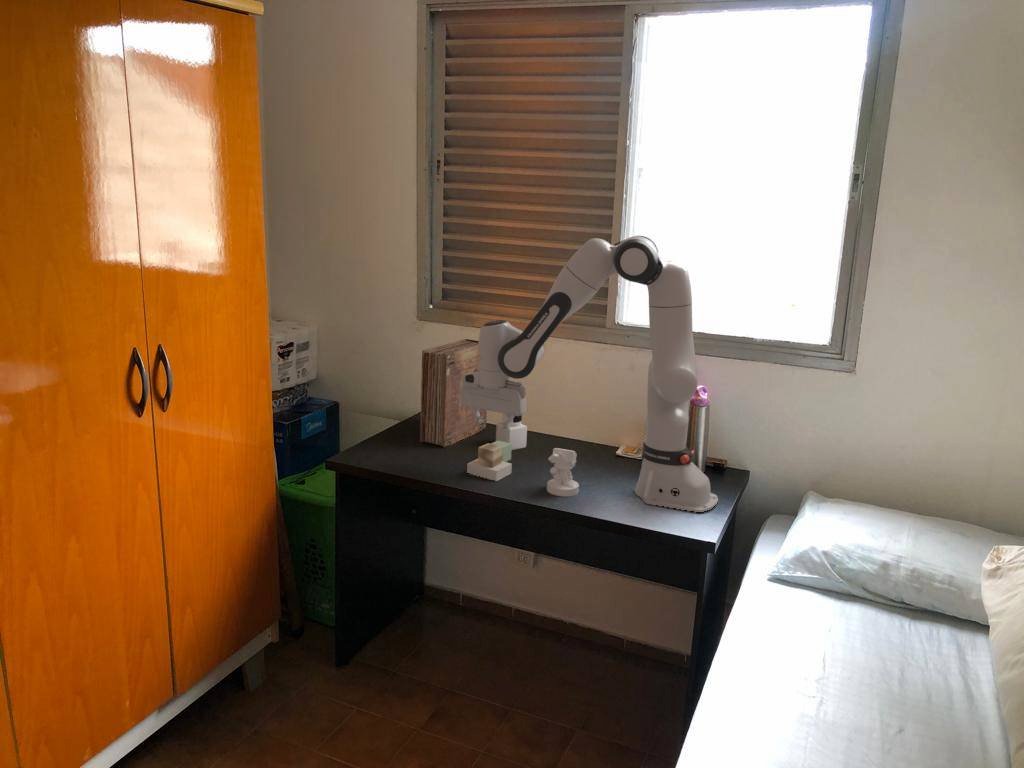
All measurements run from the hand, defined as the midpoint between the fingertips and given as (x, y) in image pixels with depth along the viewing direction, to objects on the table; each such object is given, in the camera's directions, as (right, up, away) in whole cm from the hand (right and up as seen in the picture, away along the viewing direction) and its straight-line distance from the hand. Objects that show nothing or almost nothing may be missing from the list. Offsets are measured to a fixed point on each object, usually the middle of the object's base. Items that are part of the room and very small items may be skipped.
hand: (492, 425), depth 231 cm
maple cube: (-1, -11, +3) cm, 11 cm away
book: (-13, -6, +36) cm, 39 cm away
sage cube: (+2, -11, +15) cm, 19 cm away
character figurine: (+20, -18, -6) cm, 27 cm away
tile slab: (-1, -14, +3) cm, 14 cm away
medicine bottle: (+5, -8, +28) cm, 30 cm away
